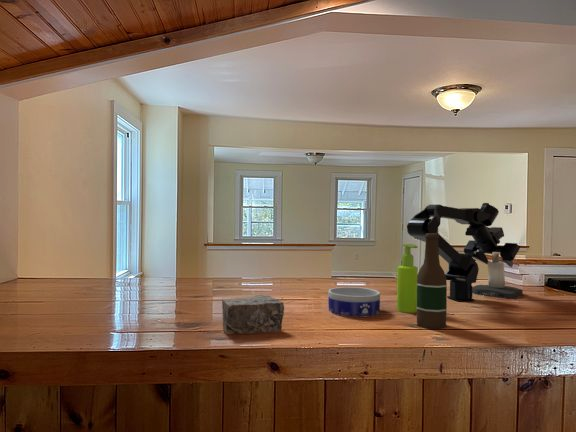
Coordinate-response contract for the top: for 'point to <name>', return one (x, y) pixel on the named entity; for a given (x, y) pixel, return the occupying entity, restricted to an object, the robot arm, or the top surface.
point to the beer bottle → (431, 288)
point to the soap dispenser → (407, 282)
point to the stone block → (252, 314)
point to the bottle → (496, 272)
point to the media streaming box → (498, 291)
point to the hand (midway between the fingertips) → (499, 264)
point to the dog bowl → (354, 301)
